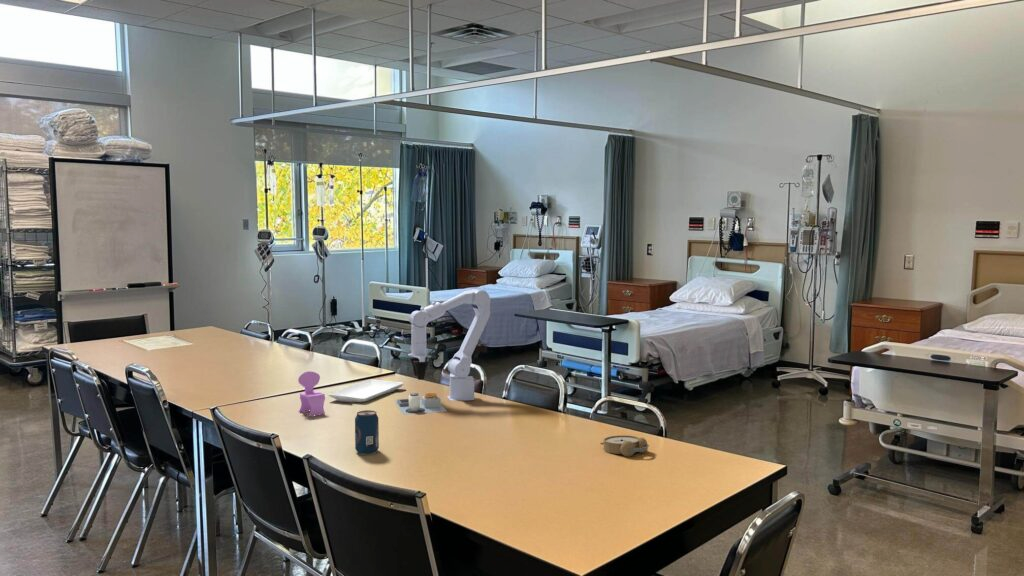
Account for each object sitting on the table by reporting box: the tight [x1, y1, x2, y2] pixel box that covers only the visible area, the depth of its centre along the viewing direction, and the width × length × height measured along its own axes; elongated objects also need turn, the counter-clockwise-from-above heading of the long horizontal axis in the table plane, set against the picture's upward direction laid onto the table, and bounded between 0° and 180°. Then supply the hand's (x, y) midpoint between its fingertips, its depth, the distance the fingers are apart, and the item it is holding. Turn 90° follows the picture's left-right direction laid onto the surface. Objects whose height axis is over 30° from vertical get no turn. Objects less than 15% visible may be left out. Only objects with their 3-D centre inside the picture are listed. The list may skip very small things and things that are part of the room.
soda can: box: [354, 409, 380, 456], centre depth 223 cm, size 7×7×12 cm
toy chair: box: [297, 370, 326, 417], centre depth 268 cm, size 8×9×15 cm
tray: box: [327, 378, 405, 403], centre depth 298 cm, size 17×31×4 cm, turn 159°
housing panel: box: [394, 395, 448, 415], centre depth 278 cm, size 16×22×4 cm
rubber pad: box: [406, 408, 425, 414], centre depth 271 cm, size 7×7×1 cm
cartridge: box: [408, 392, 421, 411], centre depth 271 cm, size 4×4×6 cm
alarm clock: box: [600, 434, 650, 458], centre depth 225 cm, size 11×5×15 cm
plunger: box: [424, 392, 438, 399], centre depth 278 cm, size 4×4×4 cm
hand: (419, 377), depth 285 cm, fingers open, 7 cm apart
